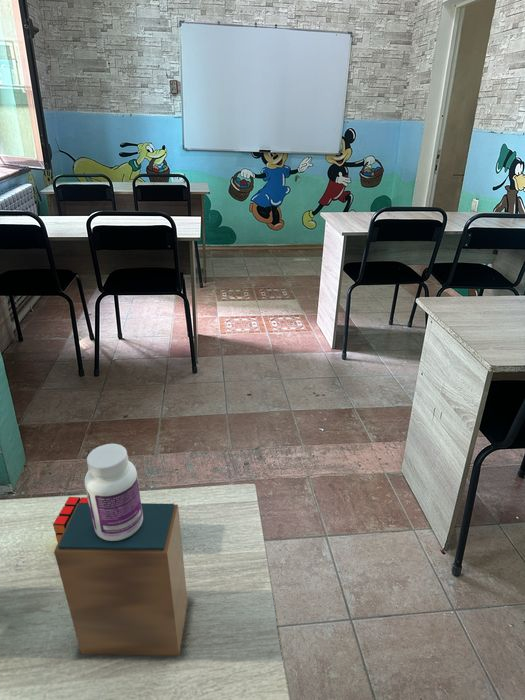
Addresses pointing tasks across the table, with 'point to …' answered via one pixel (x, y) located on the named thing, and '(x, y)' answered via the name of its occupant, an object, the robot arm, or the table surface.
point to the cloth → (144, 538)
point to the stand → (127, 596)
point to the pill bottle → (113, 493)
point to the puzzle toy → (66, 515)
